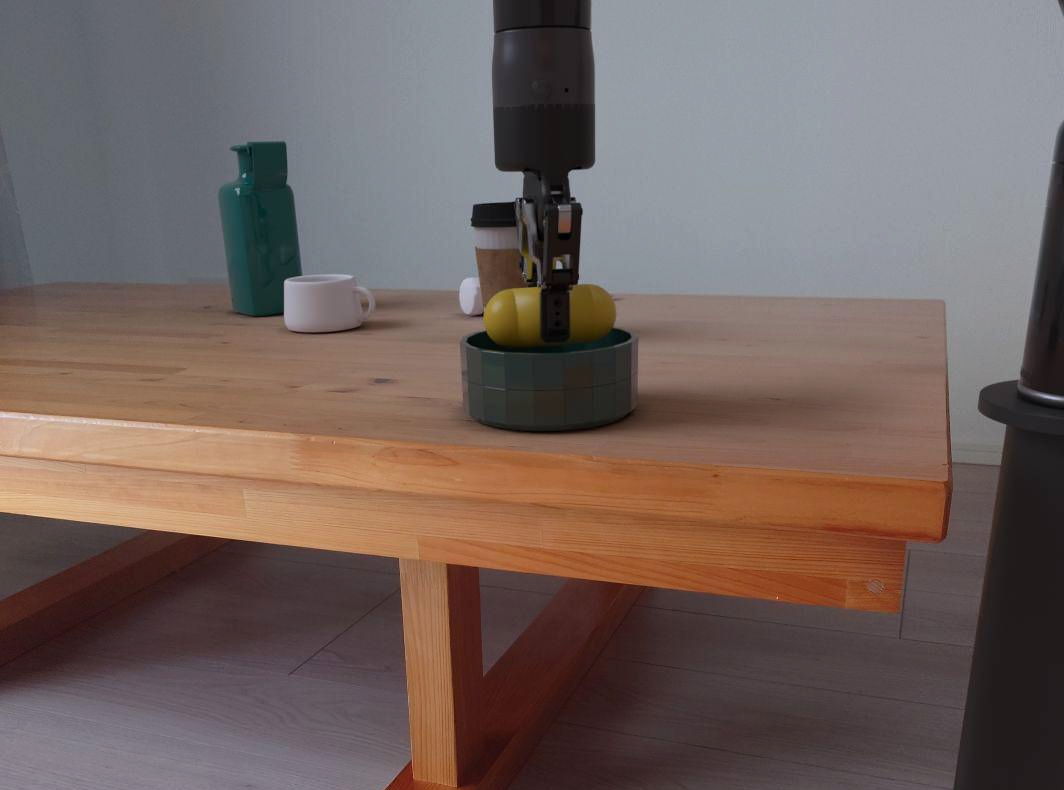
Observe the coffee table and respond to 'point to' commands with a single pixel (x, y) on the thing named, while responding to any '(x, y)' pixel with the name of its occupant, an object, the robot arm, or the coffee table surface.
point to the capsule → (518, 317)
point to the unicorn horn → (475, 297)
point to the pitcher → (260, 229)
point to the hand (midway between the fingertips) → (548, 334)
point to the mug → (324, 303)
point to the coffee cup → (496, 248)
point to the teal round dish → (550, 382)
